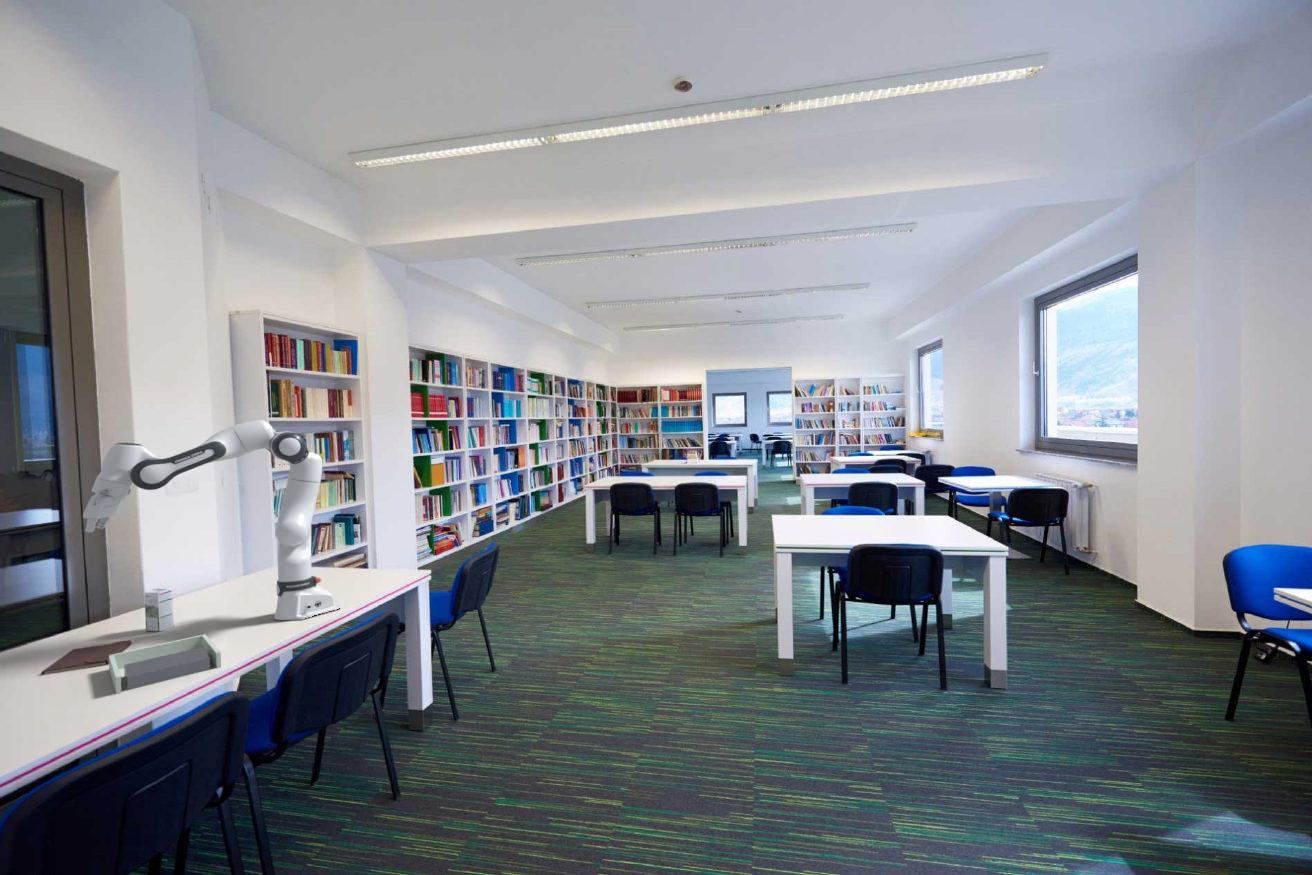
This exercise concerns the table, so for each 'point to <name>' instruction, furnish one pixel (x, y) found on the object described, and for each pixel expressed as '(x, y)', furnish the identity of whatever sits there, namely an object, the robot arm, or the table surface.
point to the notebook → (87, 657)
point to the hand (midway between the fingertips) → (94, 530)
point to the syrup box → (159, 609)
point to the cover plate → (166, 668)
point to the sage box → (160, 654)
